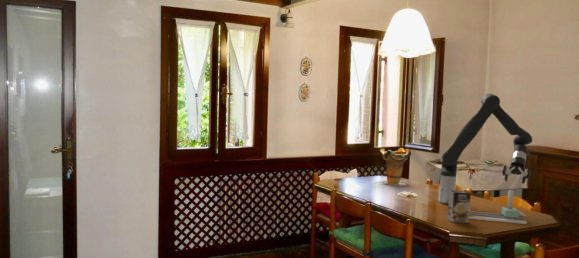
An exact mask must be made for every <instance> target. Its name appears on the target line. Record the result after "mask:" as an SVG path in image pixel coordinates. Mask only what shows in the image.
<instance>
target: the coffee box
mask: <svg viewBox="0 0 579 258" xmlns="http://www.w3.org/2000/svg"><path fill="white" fill-rule="evenodd" d="M471 194H472V193H470V192H469V191H467V190H456V189H455V190H450V196H449V204H448V209H447V217H446V220H449V221H450V222H451V223H463V224H464V223H466V224H467V223H468V224H469V220H470V219H469V209H470V206H471Z"/></svg>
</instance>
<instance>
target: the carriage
mask: <svg viewBox="0 0 579 258" xmlns="http://www.w3.org/2000/svg"><path fill="white" fill-rule="evenodd" d="M513 201H514V190H508V193H507V202H506V205H507V206H506V207H505V206H504V207H501V212H500V214H503V215H504V216H505V217H516V218H519V210H518V209H517V208H514V207H513V204H514V202H513Z"/></svg>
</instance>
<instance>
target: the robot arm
mask: <svg viewBox="0 0 579 258" xmlns="http://www.w3.org/2000/svg"><path fill="white" fill-rule="evenodd" d="M480 102H481V107H480V108H479V109H478V111H476V113H475V114H474V115H473V116H472V117H470V118H469V119H468V120H467V121H466V122H465V124H464V125H463V126H462V128H461V129H460V130H459V132H458V134H457V136H456V138H455V139H454V141H453V143H452V144H451V145H450V147H449V148H448V149H447V150H446V151H444V152H443V153H442V156H441V158H442V159H441V169H440V170H441V171H440V183H439V187H438V198H437V199H438V200H437V201H438V202H439V203H442V204H448V205H449V196H450V190H456V187H457V186H456V183H457V174H458V173H457V172H458V160H459V158H460V157H461V155H462V154H463V152H464V150H465V149H466V148H467V147H468V145H470V143H471V142H473V140H474V139H475V137H476V136H477V135H478V133H479V132H480V130H481V129H482V128H483V126H484V125H485V123H486V122H487V121H488V119H489V118H490V117H491V116H492V115H493V116H494V117H495V118H496V120H498V122H499V123H500V124H501V126H502V127H503V128H504V129H505V130H506V132H508V134H509V135H510V136H514V137H513V140H512V143H513V148H514V149H513V153H512V158H511V160H510V161H511V162H510V165H509V166H507V165H504V166H503V169H502V171H501V173H502V176H504V181H505V182H508V178H509V177H510V176H512V175H518V176H519V175H520V176H521V177H522V181H521V184H525V183H526V179H528V180H529V179H530V176H531V168H530V167H528V168H526V163H527V162H526V161H527V154H528V147H527V145H530V144H531V143H533V137H532V135H531V134H530V133H529V132H528V131H526V130H525V129H523V128H522V127H520V125H519V124H518V123H517V122H516V121H515V119H513V118H512V116H510V115H509V114H508V113H507V111H505V110H504V109H503V108H502V106H501V105H500V104H501V99H500V97H498V96H497V95H495V94H493V93H485V94H484V95H482V97H481V100H480ZM525 172H526V173H527V174H525Z"/></svg>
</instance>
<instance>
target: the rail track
mask: <svg viewBox="0 0 579 258" xmlns="http://www.w3.org/2000/svg"><path fill="white" fill-rule="evenodd" d="M518 211H519V210H518ZM527 217H528V216H527V215H526V214H525V213H523V212H522V211H519V218H516V217H505V216H504V215H503V214H502V213H495V212H494V213H493V212H483V211H472V210H471V209H470V208H469V219H468V220H478V221H488V222H500V223H510V224H511V223H512V224H523V225H527V224H528V221H527V219H528V218H527Z"/></svg>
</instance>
